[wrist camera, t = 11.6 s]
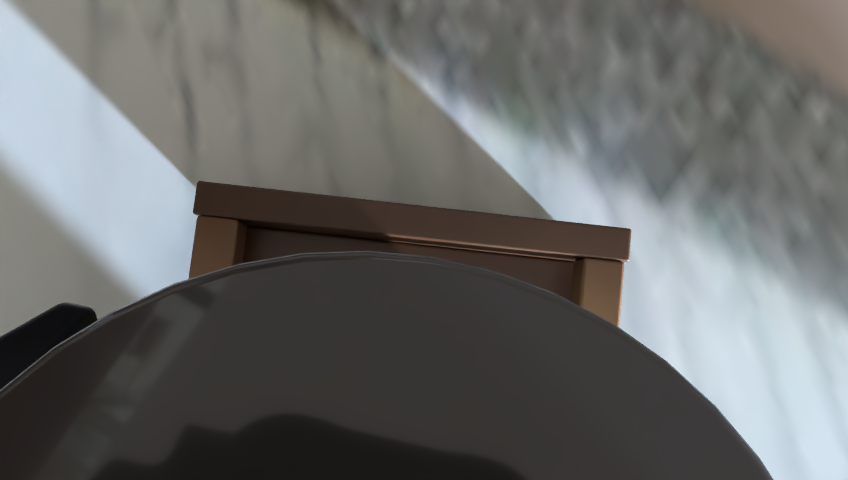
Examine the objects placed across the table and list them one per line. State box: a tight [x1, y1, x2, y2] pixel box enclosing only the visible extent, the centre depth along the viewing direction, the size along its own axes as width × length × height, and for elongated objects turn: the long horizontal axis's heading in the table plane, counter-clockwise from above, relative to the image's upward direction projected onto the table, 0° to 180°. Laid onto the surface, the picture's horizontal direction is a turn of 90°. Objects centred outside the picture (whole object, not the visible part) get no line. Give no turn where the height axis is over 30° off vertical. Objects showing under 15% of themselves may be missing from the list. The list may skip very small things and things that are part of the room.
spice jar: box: [0, 251, 774, 480], centre depth 10 cm, size 6×6×13 cm
